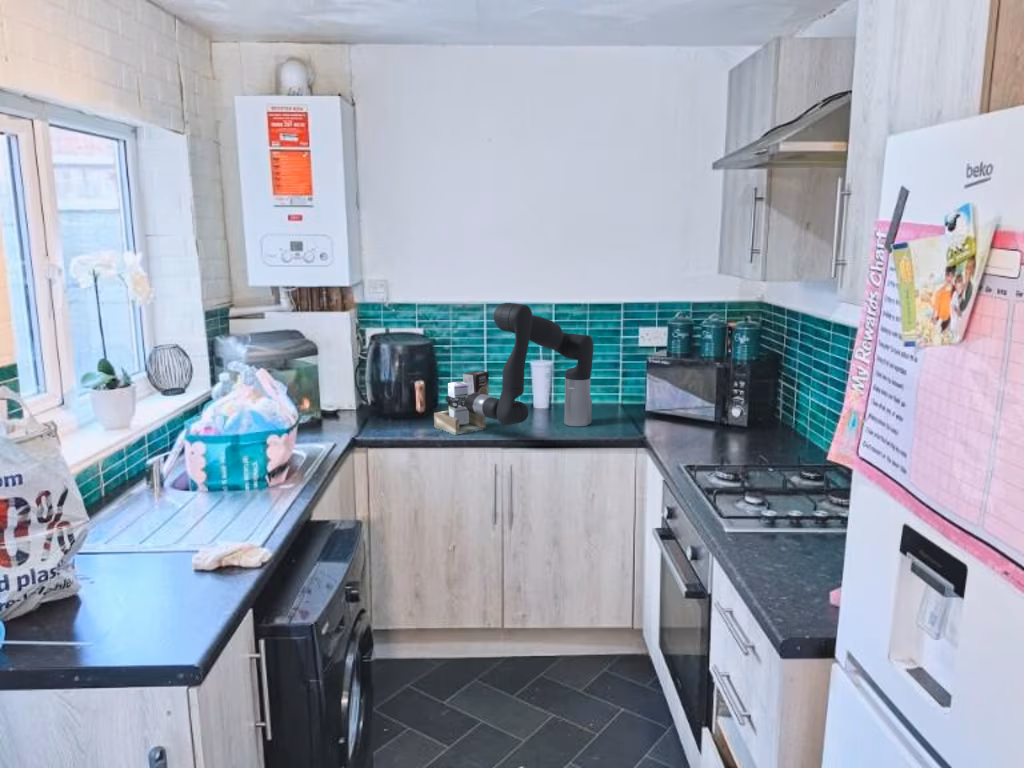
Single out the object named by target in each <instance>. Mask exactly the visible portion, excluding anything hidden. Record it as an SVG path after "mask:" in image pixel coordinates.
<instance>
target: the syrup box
mask: <svg viewBox="0 0 1024 768" xmlns="http://www.w3.org/2000/svg"><path fill="white" fill-rule="evenodd" d="M447 393H448V394H447V396H450V397H455V398H456V397H458V396H460V397H465V396H468V384H466V383H463V381H452V382H448V383H447ZM454 400H455V399H454ZM460 402H461V399H460ZM448 410H449V416H451V417H454V418H457V419H459V424H467V423H469V411H468V410H467V408H464V407H458V408H453V407H451V406H448Z"/></svg>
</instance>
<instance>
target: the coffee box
mask: <svg viewBox="0 0 1024 768" xmlns="http://www.w3.org/2000/svg"><path fill="white" fill-rule="evenodd" d="M489 373H490V372H489V371H484V370H482V371H480V370H473V371H469V372H466V373H462V382H463V383H466V384H468V395H470V394H472V393H481V394H485V395H489V393H490V392H489V391H490V390H489V389H490V388H489V387H490V386H489V383H490V382H489V377H490V375H489ZM489 396H490V395H489Z"/></svg>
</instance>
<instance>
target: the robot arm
mask: <svg viewBox="0 0 1024 768" xmlns="http://www.w3.org/2000/svg"><path fill="white" fill-rule="evenodd" d="M493 320H494V323H495V326H496V327H497V328H498V330H499V329H500V330H501V331H503V332H509V333H512V334H514V336H515V340H514V345H513V346H514V347H513V349H512V351H511V353H510V355H508V358H507V360H506V362H505V363H504V365H503V368H502V382H501V383H502V387H501V388H502V389H501V392H500V396H499V398H497V397H493V396H491V395H485V394H481V393H472V394H470V395H468V396H465V397H460V396H458V397H456V398H455V397H450V396H448V395H446V396H445V403H447V406H448V407H449V406H451V407H453V408H458V407H464V408H467V410H468V411H469V412H470V413H472V414H475V415H479V416H482V417H486V418H489V419H492V420H498V422H499V424H501V425H502V426H510V425H515V424H516V425H517V424H520V423H523V422H525V421H526V420H527V419H528V417H529V408H528V406H527V405H526V404H525V403H523V402H522V401H519V400H516V399H517V398H519V397H520V396H522V395H523V394H524V391H525V366H526V360H527V355H528V354H527V353H528V349H529V343H530V342H532V343H535V344H536V345H537V346H540V347H543V348H546V349H547V350H548V349H549V350H553V351H554V352H556V353H558V354H559V355H561V356H562V357H564V358H566V359H568V360H574V361H575V360H576V361H577V364H576V365H575V366H574V367H572V368H568V369H566V370H565V374H564V378H565V379H564V417H563V419H564V422H563V423H564V425H566V426H569V427H587V426H588V425H590V424H592V414H593V412H592V411H593V406H592V405H593V398H592V397H591V374H592V370H593V360H594V341H593V338H592V336H590V335H588V334H580V333H578V334H577V333H567V332H564V331H563V328H562V327H561V326H560V325H559V324H558V323H557V322H555V321H552V320H550V319H548V318H545V317H543V316H542V317H541V316H538V315H533V312H532V309H531V308H530V306H528V305H527V304H523V303H516V302H515V303H514V302H504V303H501V304H499V305H498V306H497V307H496V308H495V309H494V313H493ZM454 399H455V400H454ZM460 399H461V402H460Z"/></svg>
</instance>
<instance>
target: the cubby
mask: <svg viewBox="0 0 1024 768" xmlns="http://www.w3.org/2000/svg"><path fill="white" fill-rule="evenodd" d="M486 418H487V417H482V416H479V415H475V414H472V413H470V412H469V423H467V424H459V419H457V418H454V417H451V416H449V409H448V410H444V411H443V410H442V411H438V412H433V423H434V424H433V425H434V426H433V427H435V429H437V430H439V429H440V431H442V430H443V431H442V432H445V431H446V433H448V432H449V433H448V434H451V435H454V436H459V435H458V434H460V435H464V434H463V433H465V434H468V432H470V433H474V432H473V431H475V432H479V431H478V430H480V431H484V430H483V429H485V430H486V427H487V426H486V421H487V420H486Z"/></svg>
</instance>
